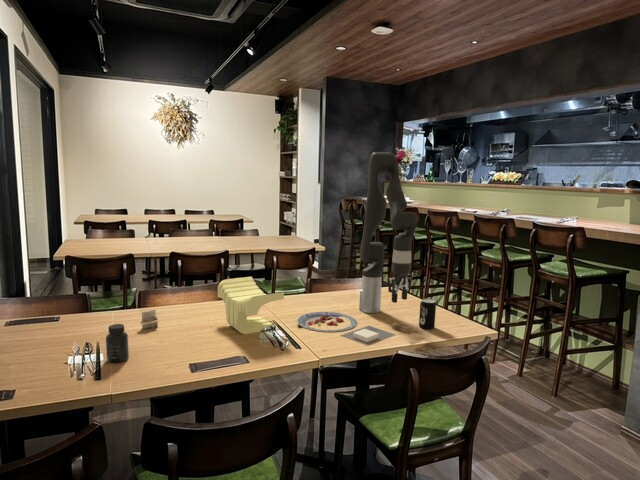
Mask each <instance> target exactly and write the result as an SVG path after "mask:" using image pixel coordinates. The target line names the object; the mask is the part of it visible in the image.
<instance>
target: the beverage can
mask: <svg viewBox="0 0 640 480" xmlns="http://www.w3.org/2000/svg"><path fill="white" fill-rule="evenodd" d="M436 311H437V304H436V300H435V299H432V298H422V299H421V301H420V304H419V318H418V320H419V321H418V326H419V327H420V328H421V329H422V330H426V331H427V330H433V329H434V328H435V324H436Z"/></svg>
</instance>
